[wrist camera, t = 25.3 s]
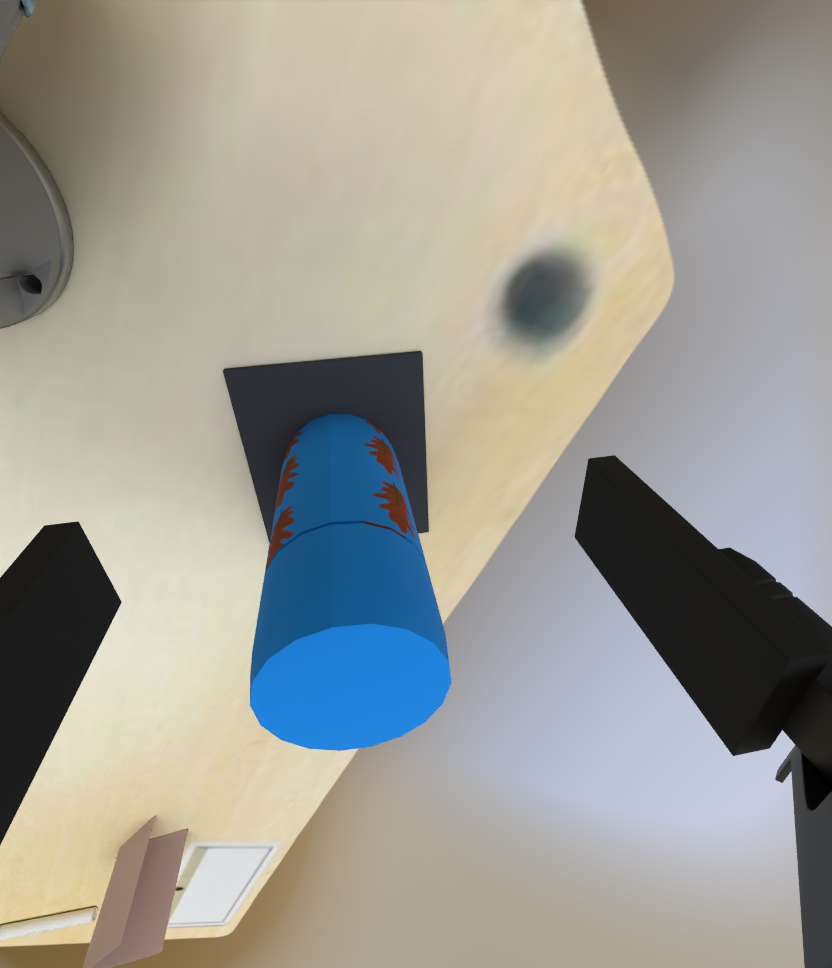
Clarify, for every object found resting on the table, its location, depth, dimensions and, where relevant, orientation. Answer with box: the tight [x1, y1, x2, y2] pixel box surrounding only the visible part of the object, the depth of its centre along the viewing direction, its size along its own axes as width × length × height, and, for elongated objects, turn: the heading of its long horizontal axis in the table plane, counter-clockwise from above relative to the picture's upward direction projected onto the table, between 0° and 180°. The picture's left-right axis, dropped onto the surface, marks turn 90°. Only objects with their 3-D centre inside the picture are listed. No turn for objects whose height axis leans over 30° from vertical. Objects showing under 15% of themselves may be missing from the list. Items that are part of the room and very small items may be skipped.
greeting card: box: [83, 815, 188, 968], centre depth 69 cm, size 11×7×15 cm, turn 102°
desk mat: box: [223, 351, 429, 543], centre depth 46 cm, size 17×20×1 cm
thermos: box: [250, 414, 451, 751], centre depth 35 cm, size 11×11×25 cm
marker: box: [0, 907, 98, 940], centre depth 84 cm, size 18×2×2 cm, turn 91°
